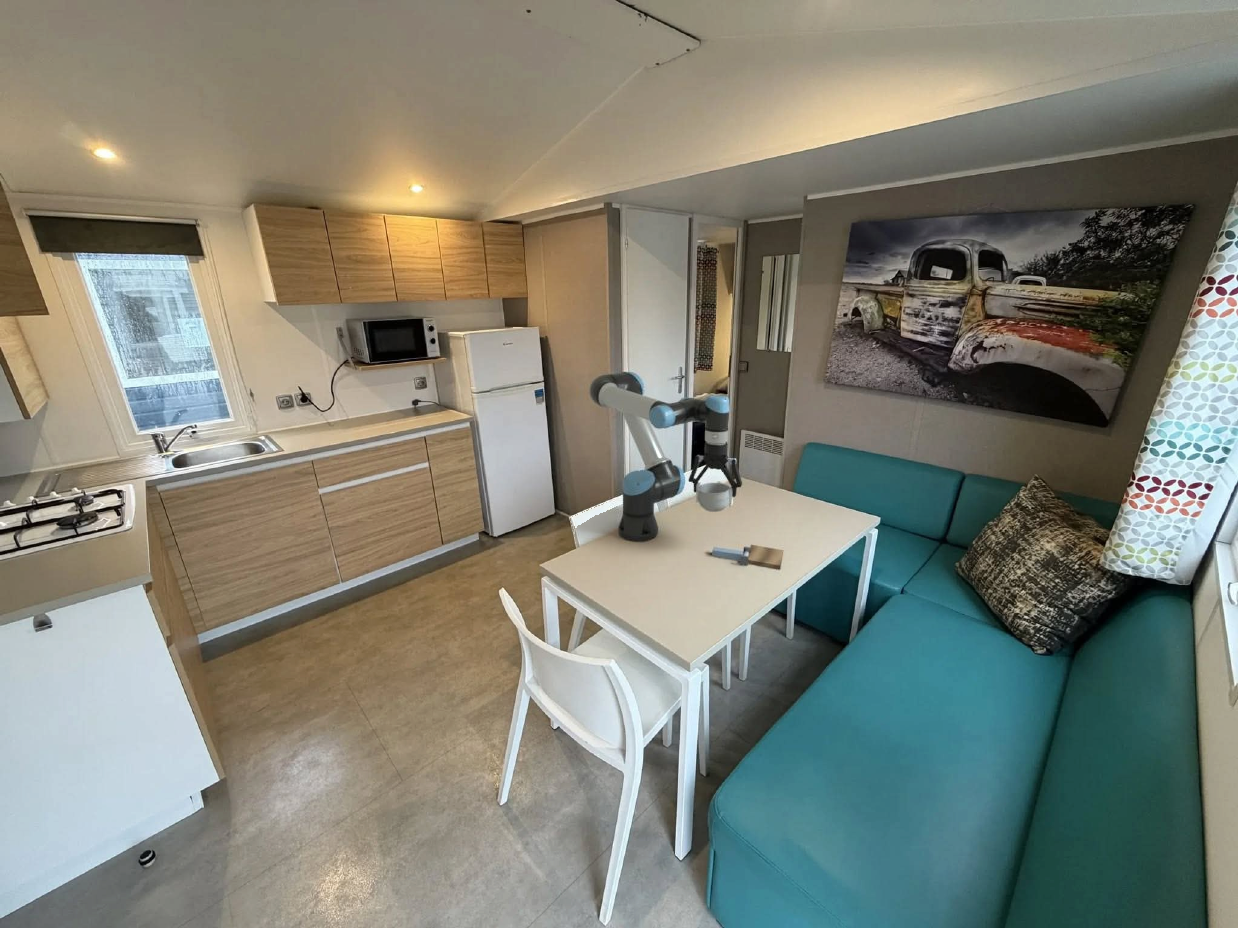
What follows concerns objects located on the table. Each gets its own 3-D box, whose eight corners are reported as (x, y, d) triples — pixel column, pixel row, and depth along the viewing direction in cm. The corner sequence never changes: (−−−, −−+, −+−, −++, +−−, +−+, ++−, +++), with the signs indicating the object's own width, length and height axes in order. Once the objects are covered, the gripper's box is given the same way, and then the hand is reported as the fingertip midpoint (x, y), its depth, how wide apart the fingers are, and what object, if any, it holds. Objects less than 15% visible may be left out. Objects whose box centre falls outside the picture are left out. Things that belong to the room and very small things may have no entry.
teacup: (720, 517, 160) (720, 494, 158) (691, 510, 167) (691, 488, 164) (738, 504, 170) (739, 482, 168) (710, 497, 177) (711, 477, 175)
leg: (748, 557, 165) (749, 550, 165) (746, 563, 161) (747, 556, 161) (714, 552, 170) (714, 545, 169) (711, 558, 166) (711, 551, 165)
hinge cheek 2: (740, 564, 161) (740, 556, 160) (740, 563, 162) (741, 555, 161) (747, 565, 160) (748, 557, 159) (747, 564, 161) (748, 556, 160)
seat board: (746, 563, 162) (746, 559, 161) (750, 548, 171) (751, 544, 171) (780, 569, 158) (780, 565, 157) (783, 553, 167) (783, 550, 167)
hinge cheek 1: (743, 555, 166) (743, 547, 165) (743, 554, 167) (744, 546, 166) (750, 556, 166) (750, 549, 165) (750, 555, 166) (751, 547, 165)
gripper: (679, 442, 163) (679, 502, 169) (749, 447, 154) (746, 511, 160) (685, 436, 169) (684, 495, 176) (753, 442, 160) (750, 503, 167)
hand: (714, 503), depth 168 cm, fingers closed on teacup, 11 cm apart
